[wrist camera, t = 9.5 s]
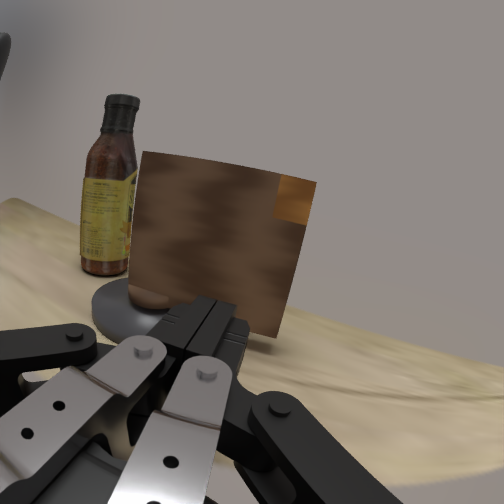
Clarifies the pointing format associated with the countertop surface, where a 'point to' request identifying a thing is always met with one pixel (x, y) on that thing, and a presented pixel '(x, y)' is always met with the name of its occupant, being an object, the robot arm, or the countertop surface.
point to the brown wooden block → (217, 236)
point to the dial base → (122, 312)
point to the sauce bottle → (110, 190)
